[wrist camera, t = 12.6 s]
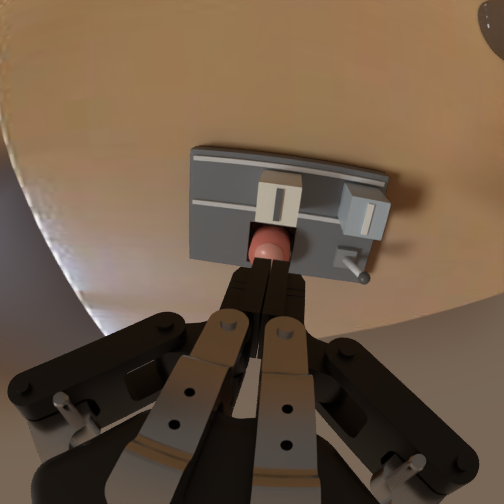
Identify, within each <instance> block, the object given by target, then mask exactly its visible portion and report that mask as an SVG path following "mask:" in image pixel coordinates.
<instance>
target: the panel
mask: <svg viewBox="0 0 504 504" xmlns="http://www.w3.org/2000/svg"><path fill="white" fill-rule="evenodd" d="M264 169H265V170H273V171H280V172H287V173H294V174H301V178H302V193H301V199H300V206H299V212H298V218H297V224H296V227H294V228H296V229H295V235H294V241H293V247H292V253H291V258H290V259H289V261H290V263H289V273H293V274H301V275H305V276H313V277H320V278H327V279H334V280H342V281H349V282H357V283H361V284H367V283H369V281H370V275H369V273H367V272H364V269H365V266H366V263H367V259H368V256H369V253H370V249H371V246H372V243H373V239H368V238H362V237H356V236H350V235H344V234H343V231H342V228H341V225H340V222H339V219H338V216H337V215H338V210H339V205H340V200H341V196H342V191H343V185H344V182H349V183H355V184H360V185H365V186H370V187H375V188H379V189H380V191H381V192H382V193H383V194H384V195H385V193H386V189H387V185H388V181H389V176H388V175H386V174H385V173H384V172H379V171H375V170H370V169H365V168H360V167H355V166H350V165H345V164H339V163H333V162H328V161H322V160H316V159H309V158H303V157H296V156H289V155H282V154H274V153H266V152H257V151H248V150H238V149H228V148H216V147H202V146H195V147H193V148H192V149H191V153H190V195H189V247H190V259H197V260H203V261H210V262H216V263H223V264H230V265H236V266H243V267H250V268H251V267H252V264H251V262H250V260H249V255H248V254H249V245H250V235H251V224H252V222H256V221H255V214H256V205H257V195H258V185H259V180H260V178H261V175H262V173H263V171H264ZM259 223H263V222H259ZM266 224H270V223H266ZM273 225H277V224H273ZM280 226H284V225H280ZM287 227H291V226H287Z"/></svg>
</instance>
